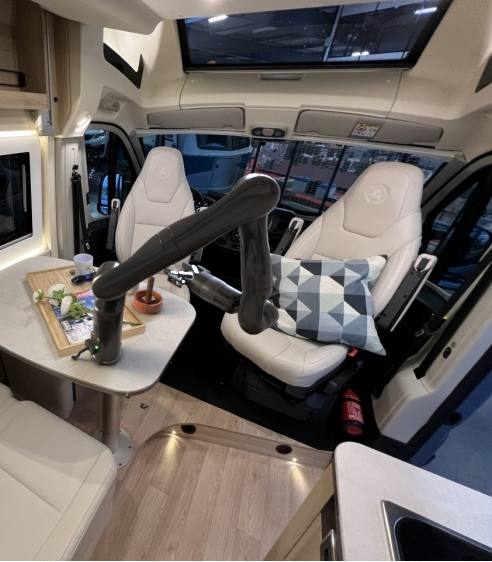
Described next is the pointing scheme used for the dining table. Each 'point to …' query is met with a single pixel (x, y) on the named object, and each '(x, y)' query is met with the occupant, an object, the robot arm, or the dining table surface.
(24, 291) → the dining table surface
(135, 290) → the beverage can
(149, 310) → the bowl
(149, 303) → the brown mallet
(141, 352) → the dining table surface
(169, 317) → the dining table surface
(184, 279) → the robot arm
